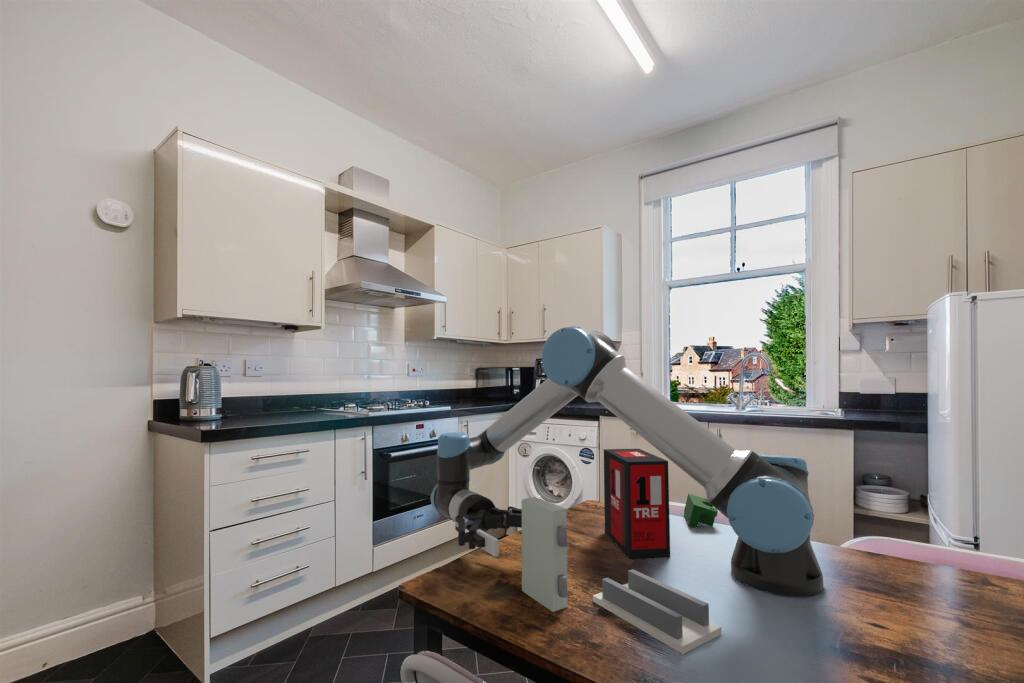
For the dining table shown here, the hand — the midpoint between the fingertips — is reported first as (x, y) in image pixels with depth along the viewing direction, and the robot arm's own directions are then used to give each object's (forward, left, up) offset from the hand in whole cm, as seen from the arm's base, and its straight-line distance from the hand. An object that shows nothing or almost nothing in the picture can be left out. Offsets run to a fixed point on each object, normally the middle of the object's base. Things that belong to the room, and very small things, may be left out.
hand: (529, 540), depth 85 cm
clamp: (-33, -50, -9) cm, 60 cm away
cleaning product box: (-17, -29, -9) cm, 35 cm away
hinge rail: (-21, +3, -9) cm, 23 cm away
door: (-3, +2, -9) cm, 10 cm away
